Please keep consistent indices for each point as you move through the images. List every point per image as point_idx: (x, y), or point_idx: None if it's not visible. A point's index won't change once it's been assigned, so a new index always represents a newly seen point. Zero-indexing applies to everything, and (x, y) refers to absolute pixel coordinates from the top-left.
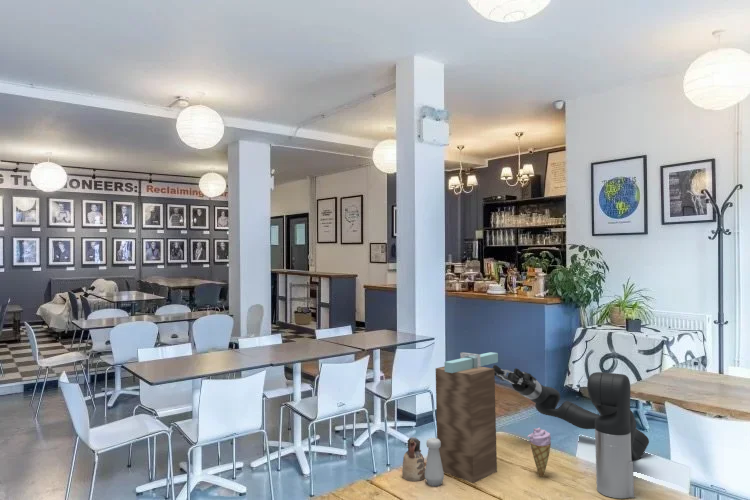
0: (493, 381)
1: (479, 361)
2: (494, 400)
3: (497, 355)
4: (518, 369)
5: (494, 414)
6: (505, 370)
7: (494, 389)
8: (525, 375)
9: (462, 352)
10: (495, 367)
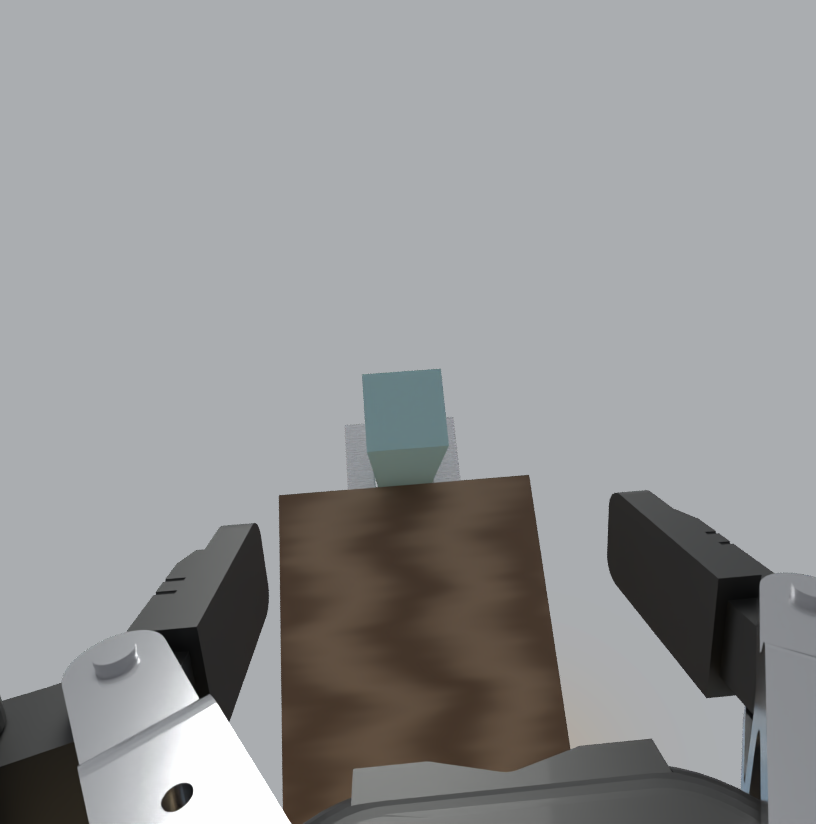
0: (282, 568)
1: (347, 459)
2: (283, 691)
3: (363, 394)
4: (206, 547)
5: (285, 789)
6: (758, 663)
7: (281, 619)
8: (47, 717)
9: (451, 419)
10: (619, 529)
